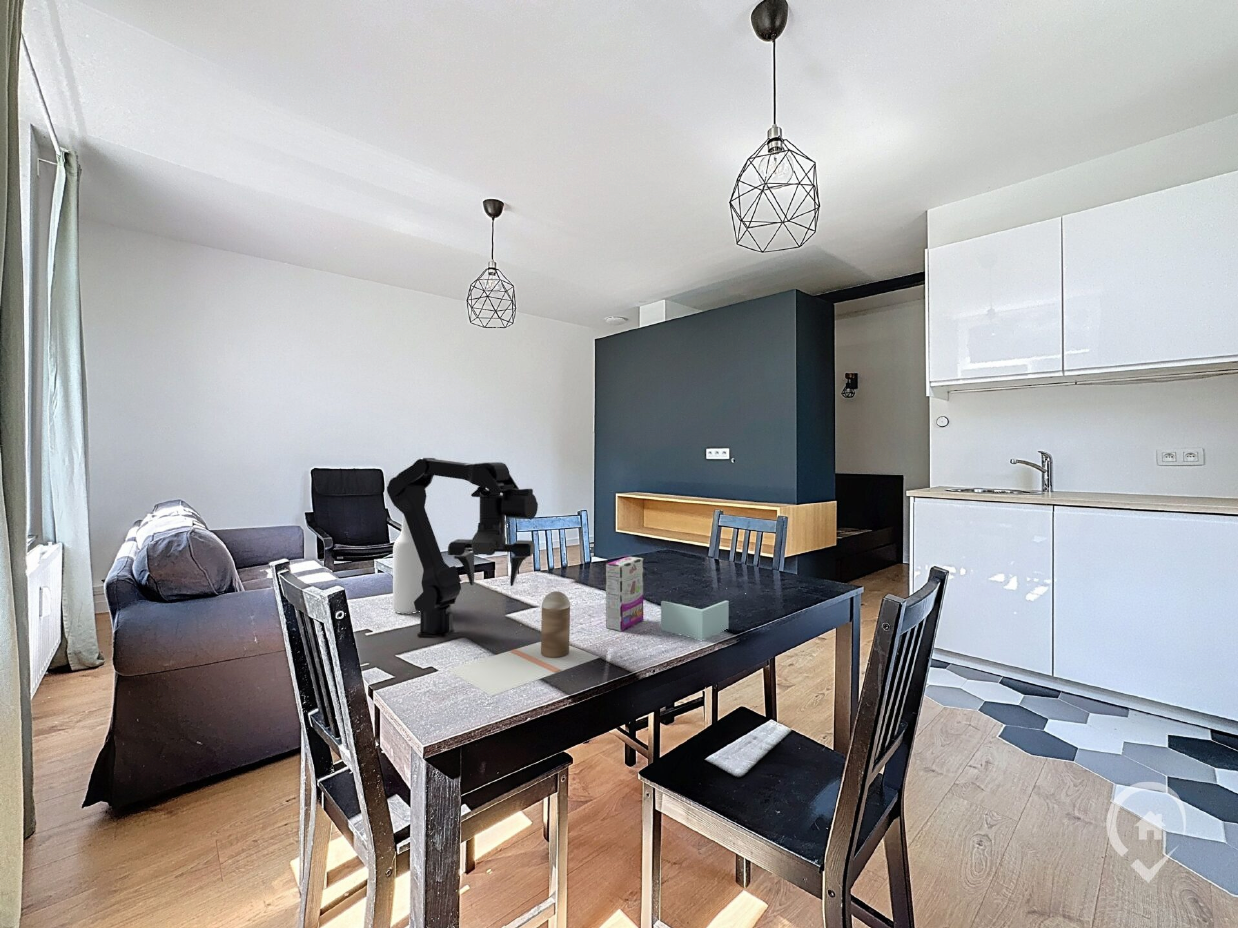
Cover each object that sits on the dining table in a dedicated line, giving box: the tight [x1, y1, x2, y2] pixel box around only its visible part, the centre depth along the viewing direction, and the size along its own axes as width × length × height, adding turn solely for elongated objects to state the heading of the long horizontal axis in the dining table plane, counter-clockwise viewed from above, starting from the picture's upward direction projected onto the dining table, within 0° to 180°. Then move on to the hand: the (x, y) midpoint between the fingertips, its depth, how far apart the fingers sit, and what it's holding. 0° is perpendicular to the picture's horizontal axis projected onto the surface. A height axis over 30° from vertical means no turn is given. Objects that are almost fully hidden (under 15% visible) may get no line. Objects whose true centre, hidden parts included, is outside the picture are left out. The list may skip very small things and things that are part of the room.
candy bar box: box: [605, 556, 644, 632], centre depth 137 cm, size 11×5×16 cm, turn 148°
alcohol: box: [392, 513, 423, 613], centre depth 148 cm, size 9×9×30 cm
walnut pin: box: [540, 591, 571, 658], centre depth 115 cm, size 6×6×13 cm
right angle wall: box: [660, 600, 730, 640], centre depth 134 cm, size 12×12×8 cm
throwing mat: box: [446, 641, 601, 697], centre depth 109 cm, size 26×16×1 cm, turn 135°
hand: (491, 585), depth 124 cm, fingers open, 9 cm apart
